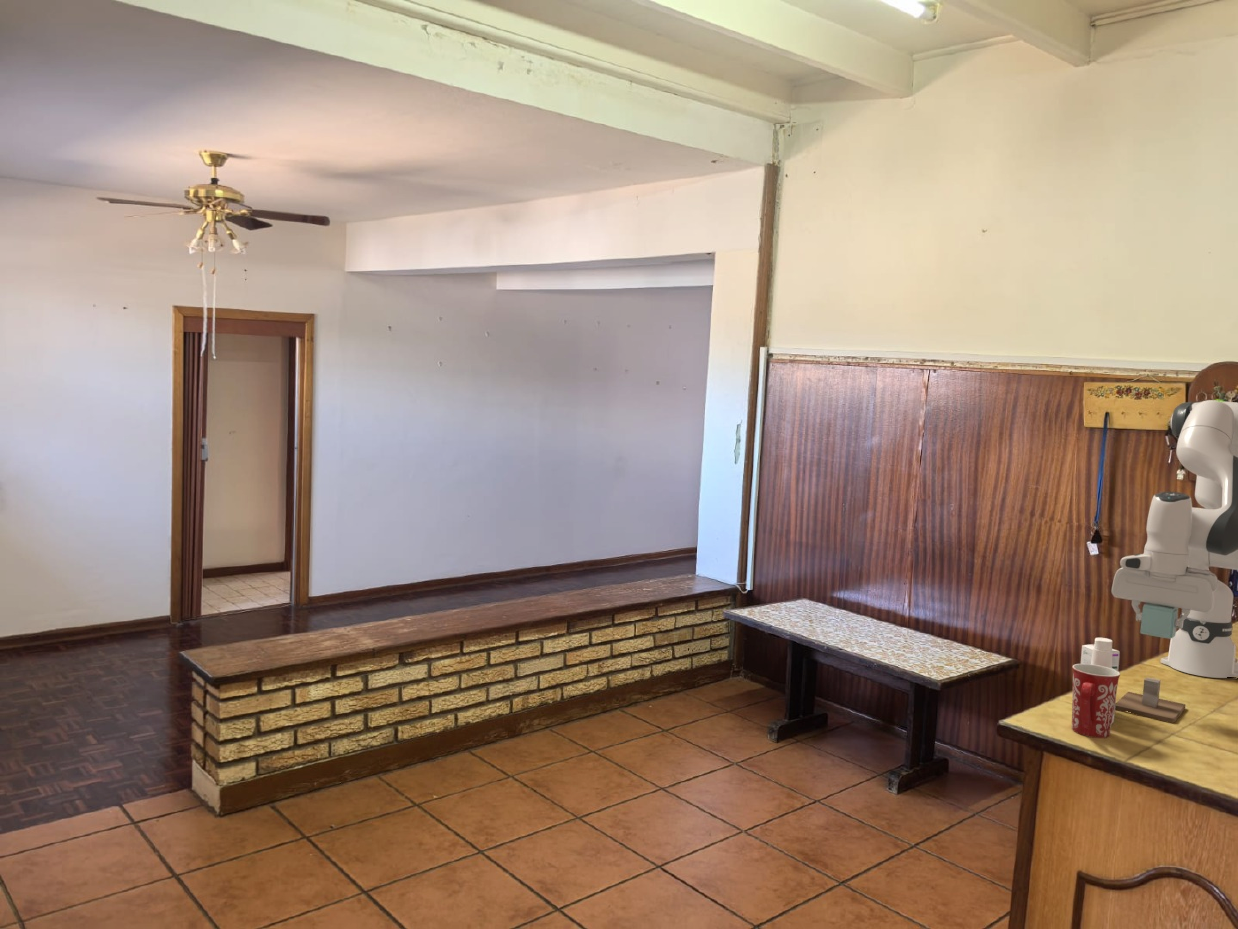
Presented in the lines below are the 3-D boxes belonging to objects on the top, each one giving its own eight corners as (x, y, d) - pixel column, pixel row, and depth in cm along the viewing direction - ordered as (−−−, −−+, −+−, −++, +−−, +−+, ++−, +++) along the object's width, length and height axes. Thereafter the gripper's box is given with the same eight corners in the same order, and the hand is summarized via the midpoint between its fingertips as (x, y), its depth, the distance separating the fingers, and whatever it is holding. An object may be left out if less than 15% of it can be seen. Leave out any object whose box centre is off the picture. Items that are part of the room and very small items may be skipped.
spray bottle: (1117, 727, 206) (1125, 645, 204) (1083, 723, 207) (1091, 642, 206) (1108, 716, 213) (1115, 637, 211) (1075, 712, 214) (1082, 634, 212)
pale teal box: (1145, 629, 222) (1148, 601, 222) (1176, 634, 218) (1179, 606, 217) (1139, 633, 217) (1141, 604, 217) (1171, 639, 213) (1174, 610, 213)
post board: (1127, 695, 228) (1130, 667, 228) (1185, 708, 221) (1188, 679, 220) (1113, 709, 218) (1116, 680, 217) (1173, 723, 210) (1176, 693, 210)
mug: (1073, 721, 209) (1079, 660, 207) (1119, 732, 203) (1125, 670, 201) (1055, 735, 199) (1061, 672, 198) (1102, 748, 193) (1108, 682, 192)
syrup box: (1115, 714, 214) (1121, 650, 213) (1093, 715, 213) (1099, 651, 212) (1097, 705, 220) (1103, 643, 219) (1075, 706, 218) (1081, 644, 217)
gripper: (1220, 570, 212) (1214, 631, 213) (1119, 555, 225) (1113, 613, 226) (1216, 573, 207) (1209, 635, 208) (1113, 558, 220) (1107, 617, 221)
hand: (1158, 624), depth 217 cm, fingers closed on pale teal box, 6 cm apart
